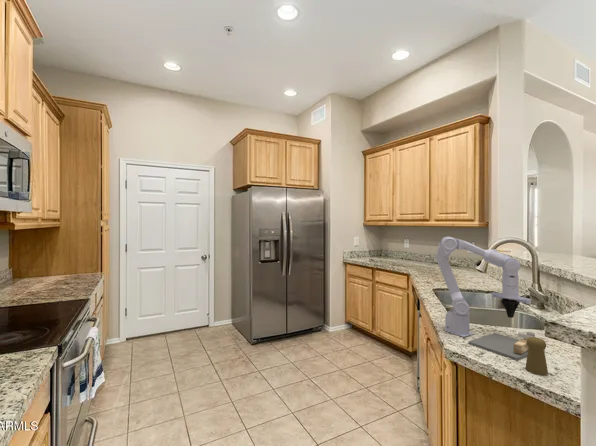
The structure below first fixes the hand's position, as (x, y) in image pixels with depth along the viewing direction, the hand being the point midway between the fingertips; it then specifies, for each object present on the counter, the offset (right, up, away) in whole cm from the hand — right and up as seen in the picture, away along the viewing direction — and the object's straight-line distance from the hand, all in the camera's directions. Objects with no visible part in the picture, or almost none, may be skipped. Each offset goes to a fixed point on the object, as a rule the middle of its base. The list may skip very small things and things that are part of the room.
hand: (510, 317), depth 129 cm
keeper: (-3, -8, -13) cm, 15 cm away
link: (-4, -8, -13) cm, 16 cm away
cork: (-12, -9, -28) cm, 32 cm away
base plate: (-8, -9, -8) cm, 15 cm away
